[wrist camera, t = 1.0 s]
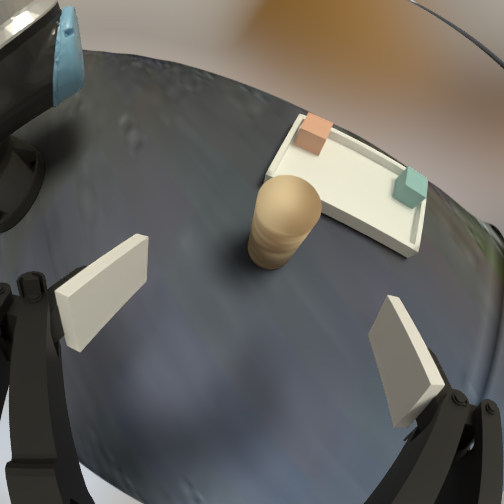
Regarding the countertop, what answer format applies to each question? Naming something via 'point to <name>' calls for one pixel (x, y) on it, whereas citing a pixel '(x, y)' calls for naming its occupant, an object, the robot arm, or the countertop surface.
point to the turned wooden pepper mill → (282, 220)
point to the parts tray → (354, 187)
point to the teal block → (410, 188)
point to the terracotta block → (313, 133)
